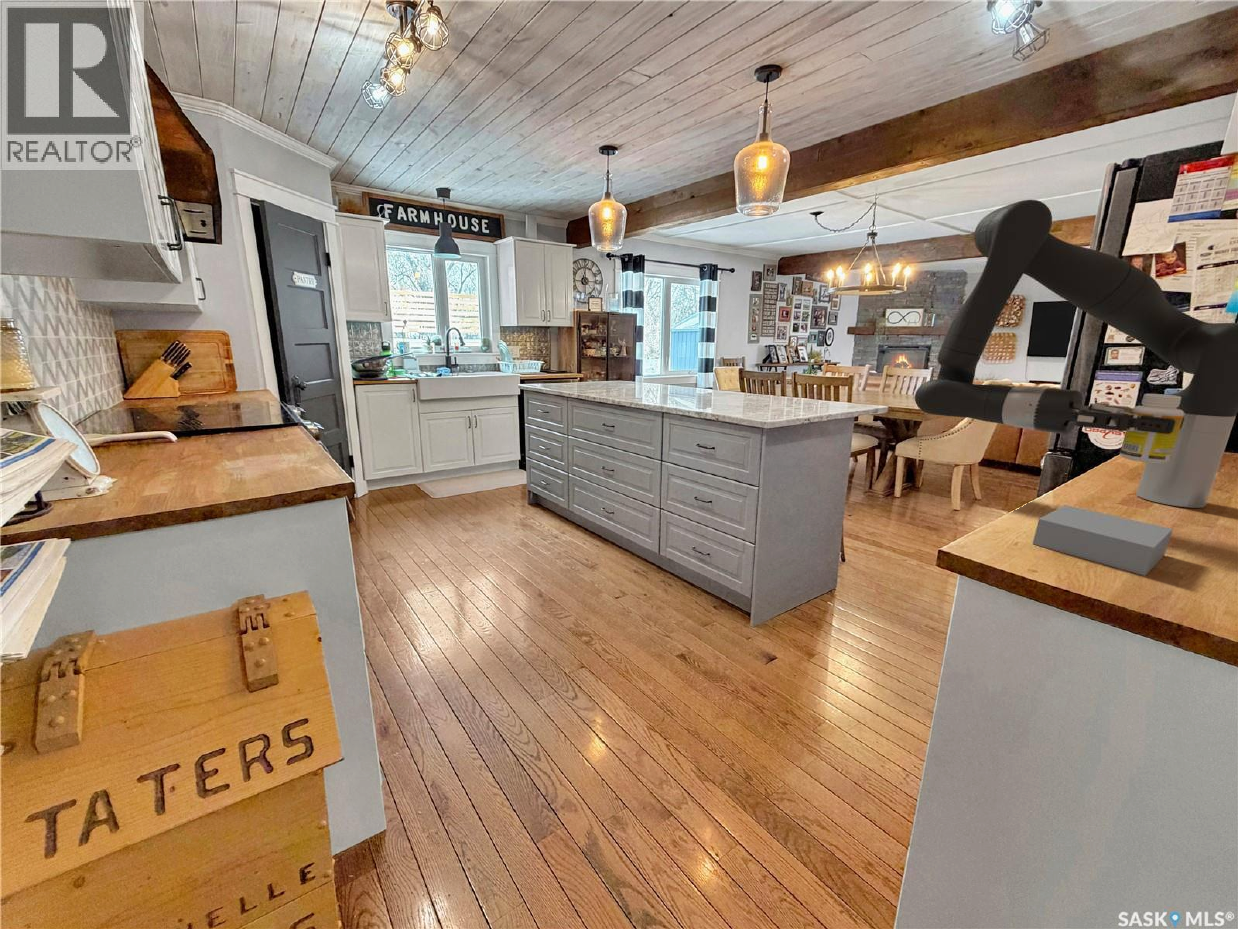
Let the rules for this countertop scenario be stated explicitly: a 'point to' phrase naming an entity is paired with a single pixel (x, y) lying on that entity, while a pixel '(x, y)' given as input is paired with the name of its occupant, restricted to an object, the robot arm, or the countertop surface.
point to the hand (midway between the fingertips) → (1177, 425)
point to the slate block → (1103, 538)
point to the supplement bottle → (1151, 443)
